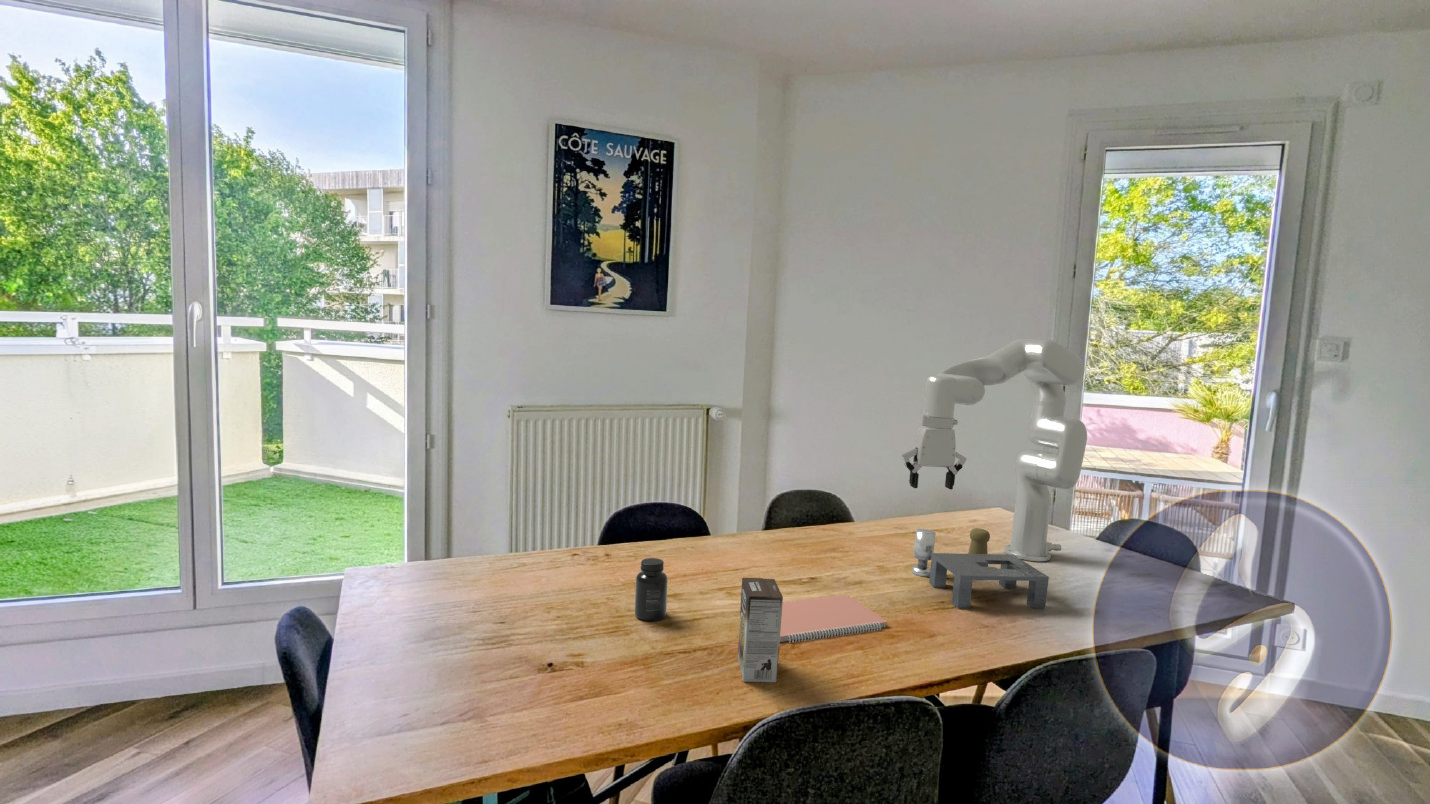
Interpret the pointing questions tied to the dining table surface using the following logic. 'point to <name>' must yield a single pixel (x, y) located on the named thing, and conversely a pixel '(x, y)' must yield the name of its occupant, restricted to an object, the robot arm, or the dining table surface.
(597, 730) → the dining table surface
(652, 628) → the dining table surface
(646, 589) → the supplement bottle
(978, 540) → the cork
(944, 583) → the grey windowed bracket
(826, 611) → the notebook
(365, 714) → the dining table surface
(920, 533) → the peg
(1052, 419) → the robot arm
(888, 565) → the dining table surface
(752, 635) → the coffee box
